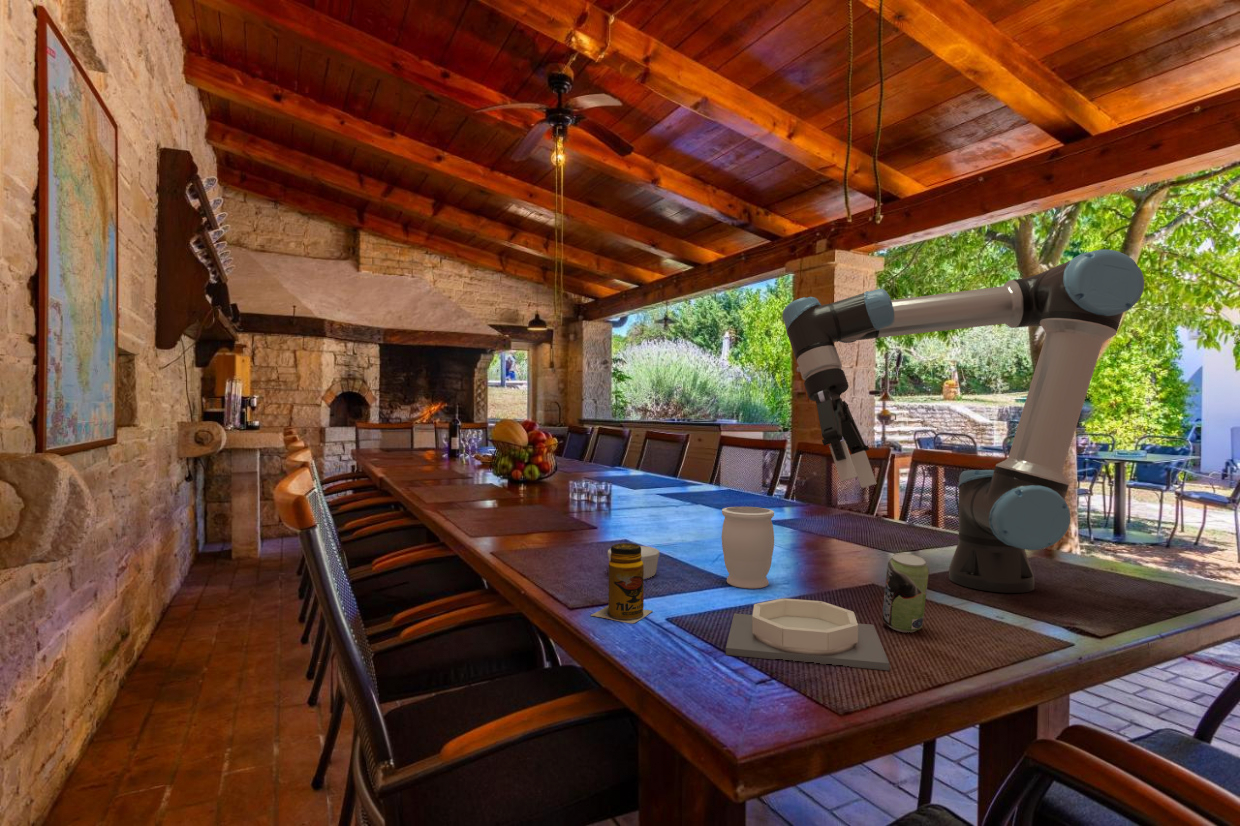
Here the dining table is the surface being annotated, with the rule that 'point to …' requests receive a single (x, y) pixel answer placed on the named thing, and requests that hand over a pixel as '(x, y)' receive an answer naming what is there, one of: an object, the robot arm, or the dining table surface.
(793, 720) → the dining table surface
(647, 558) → the ramekin
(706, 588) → the dining table surface
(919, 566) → the beverage can
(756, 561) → the jar
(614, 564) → the condiment
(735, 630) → the slate board
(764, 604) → the dish
